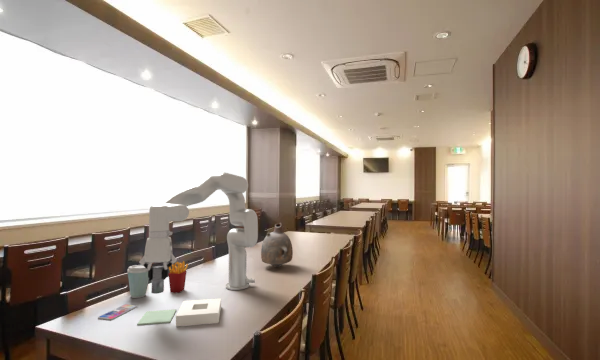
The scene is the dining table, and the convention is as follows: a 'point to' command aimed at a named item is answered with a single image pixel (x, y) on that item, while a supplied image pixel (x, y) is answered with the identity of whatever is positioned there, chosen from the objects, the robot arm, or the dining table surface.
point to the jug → (276, 247)
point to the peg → (157, 279)
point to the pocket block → (199, 312)
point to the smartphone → (117, 312)
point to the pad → (157, 317)
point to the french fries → (177, 277)
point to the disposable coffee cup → (138, 280)
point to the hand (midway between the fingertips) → (157, 278)
